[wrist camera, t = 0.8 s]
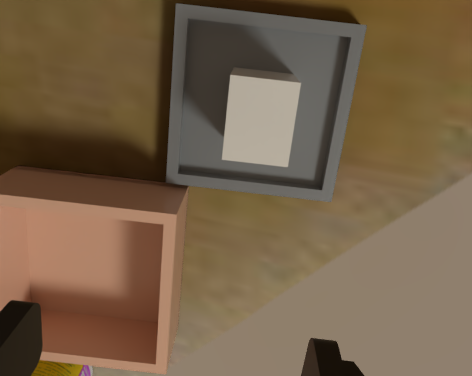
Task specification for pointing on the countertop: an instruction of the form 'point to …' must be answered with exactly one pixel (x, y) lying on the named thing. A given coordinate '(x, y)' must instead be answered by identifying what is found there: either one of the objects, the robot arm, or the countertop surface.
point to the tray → (267, 59)
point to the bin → (95, 263)
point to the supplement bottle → (61, 369)
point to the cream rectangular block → (260, 116)
